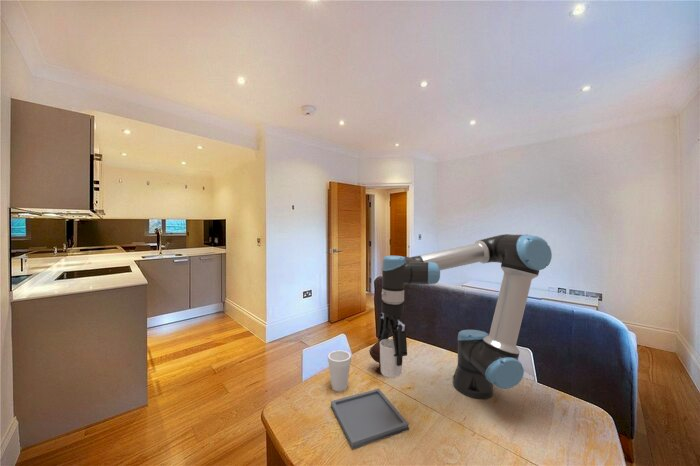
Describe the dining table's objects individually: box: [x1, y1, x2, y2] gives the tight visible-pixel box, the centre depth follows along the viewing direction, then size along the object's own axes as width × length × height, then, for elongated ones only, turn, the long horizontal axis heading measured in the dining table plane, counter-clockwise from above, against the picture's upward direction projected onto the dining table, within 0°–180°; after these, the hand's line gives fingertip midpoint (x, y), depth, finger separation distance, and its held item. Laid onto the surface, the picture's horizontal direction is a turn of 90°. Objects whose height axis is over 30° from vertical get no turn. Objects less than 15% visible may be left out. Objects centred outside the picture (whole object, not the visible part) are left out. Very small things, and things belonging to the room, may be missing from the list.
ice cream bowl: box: [368, 339, 383, 375], centre depth 119 cm, size 11×11×15 cm
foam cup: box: [327, 349, 352, 392], centre depth 107 cm, size 10×9×13 cm
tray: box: [330, 388, 410, 450], centre depth 90 cm, size 20×20×2 cm
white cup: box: [380, 338, 401, 379], centre depth 89 cm, size 8×8×10 cm
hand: (390, 367), depth 89 cm, fingers closed on white cup, 8 cm apart
